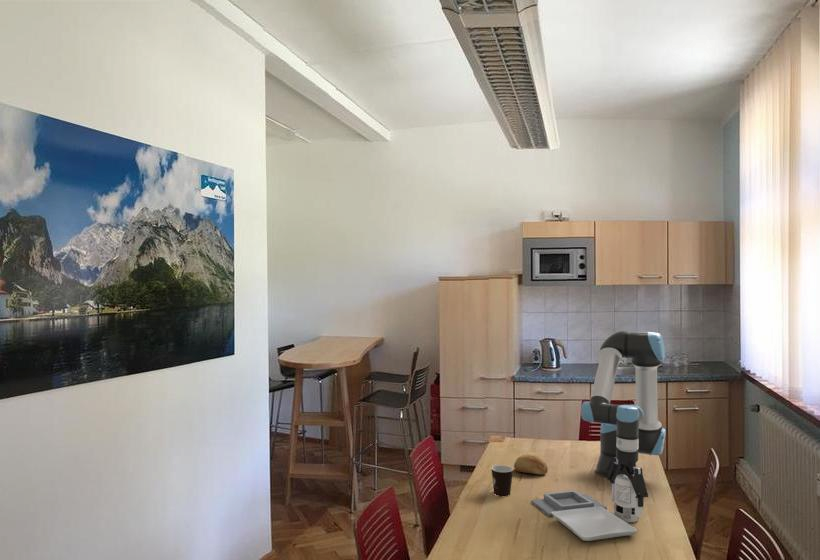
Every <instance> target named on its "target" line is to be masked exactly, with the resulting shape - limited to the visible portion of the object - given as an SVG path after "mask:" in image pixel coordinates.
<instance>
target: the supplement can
mask: <svg viewBox="0 0 820 560" xmlns="http://www.w3.org/2000/svg"><path fill="white" fill-rule="evenodd" d="M635 497H636V493H635V491H634V488H633V486H632V483H631V481H630V479H628V477H627V476H626V475H625V474H619V475H617V477H616V479H615V502H614V515H616V516H617V517H619V518H620V519H622V520H623V521H625V522H626V523H628V524H630V523H629V522H633V523H636V522H637V521H638V520H639V519H640V518H639V517H640V516H635Z"/></svg>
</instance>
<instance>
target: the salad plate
mask: <svg viewBox="0 0 820 560" xmlns="http://www.w3.org/2000/svg"><path fill="white" fill-rule="evenodd" d="M551 513H552V515H553V516H552V517H554V519H556V520H557V521H558V522H559V523H561V524H562V525H563V526H565V527H566V528H567V529H568V530H570V531H571V532H572V533H573V534H575V536H577V537H578V538H579V539H580V540H582V541H584V542H585V541H586V542H591V541H599V540H606V539H607V540H608V539H613V538H620V537H627V536H630V535H634V534H635V533H636V532H637V531H638V530H637V528H636V527H634V526H632V525H631V524H630V523H628V522H625V521H623V520H622V519H620V518H619V517H617V516H616V515H615V513H612V512H611V511H609V510H608V509H607V510H606V509H605V508H603V507H590V508H580V509H570V510H562V511H554V512H551Z"/></svg>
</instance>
